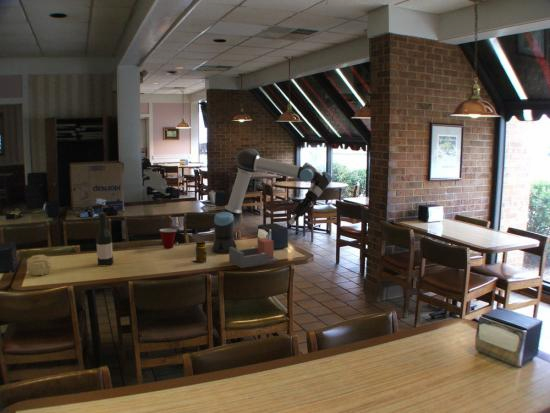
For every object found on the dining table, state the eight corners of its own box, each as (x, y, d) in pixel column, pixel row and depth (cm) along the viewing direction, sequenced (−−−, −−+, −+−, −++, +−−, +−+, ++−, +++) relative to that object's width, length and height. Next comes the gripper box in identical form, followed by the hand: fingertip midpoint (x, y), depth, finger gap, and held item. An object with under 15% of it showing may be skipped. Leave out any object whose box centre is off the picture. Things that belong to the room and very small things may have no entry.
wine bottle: (116, 262, 277) (113, 211, 272) (107, 266, 270) (103, 214, 264) (104, 261, 280) (100, 210, 274) (94, 265, 272) (90, 213, 267)
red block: (257, 255, 285) (257, 239, 283) (267, 253, 288) (267, 237, 287) (264, 259, 278) (264, 242, 276) (274, 257, 282) (274, 240, 280)
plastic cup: (181, 246, 310) (180, 228, 308) (168, 250, 301) (168, 232, 299) (168, 244, 316) (168, 226, 313) (156, 248, 307) (155, 230, 305)
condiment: (209, 262, 279) (208, 242, 276) (195, 264, 274) (195, 244, 272) (203, 259, 285) (203, 239, 282) (190, 261, 280) (189, 241, 278)
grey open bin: (229, 261, 280) (228, 247, 279) (265, 255, 292) (265, 241, 290) (241, 268, 267) (240, 253, 265) (278, 261, 279) (278, 247, 277)
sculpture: (27, 279, 250) (25, 259, 248) (28, 272, 261) (26, 252, 259) (51, 276, 255) (49, 256, 253) (51, 269, 266) (50, 250, 263)
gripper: (323, 199, 290) (299, 229, 284) (310, 196, 301) (288, 225, 295) (316, 191, 286) (292, 222, 281) (303, 188, 297) (280, 217, 292)
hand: (290, 223), depth 288 cm, fingers closed
